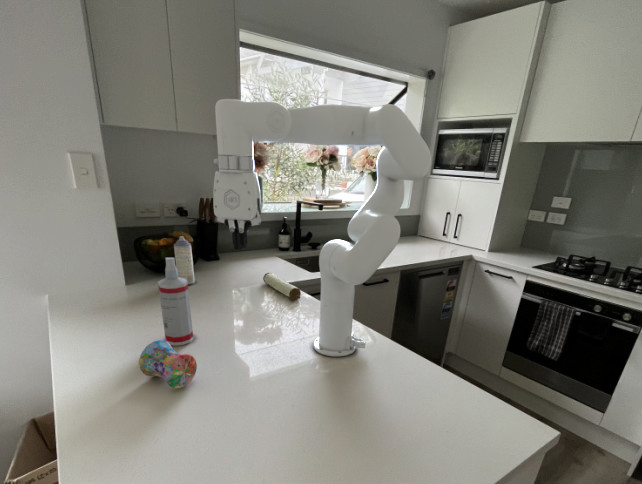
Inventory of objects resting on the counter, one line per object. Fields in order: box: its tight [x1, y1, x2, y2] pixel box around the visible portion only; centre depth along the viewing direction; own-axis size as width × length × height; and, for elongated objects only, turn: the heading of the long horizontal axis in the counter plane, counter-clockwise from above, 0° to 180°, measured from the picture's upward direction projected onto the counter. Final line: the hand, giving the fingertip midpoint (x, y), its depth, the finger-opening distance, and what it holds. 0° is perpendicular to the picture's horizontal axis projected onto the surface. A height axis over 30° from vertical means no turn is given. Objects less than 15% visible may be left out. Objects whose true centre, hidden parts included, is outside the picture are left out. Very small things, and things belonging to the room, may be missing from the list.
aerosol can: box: [173, 235, 196, 286], centre depth 161 cm, size 7×7×20 cm
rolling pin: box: [262, 272, 302, 301], centre depth 158 cm, size 32×6×5 cm, turn 32°
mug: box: [138, 339, 198, 389], centre depth 91 cm, size 12×9×11 cm
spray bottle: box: [157, 257, 194, 346], centre depth 108 cm, size 8×8×25 cm
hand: (240, 248), depth 89 cm, fingers closed
